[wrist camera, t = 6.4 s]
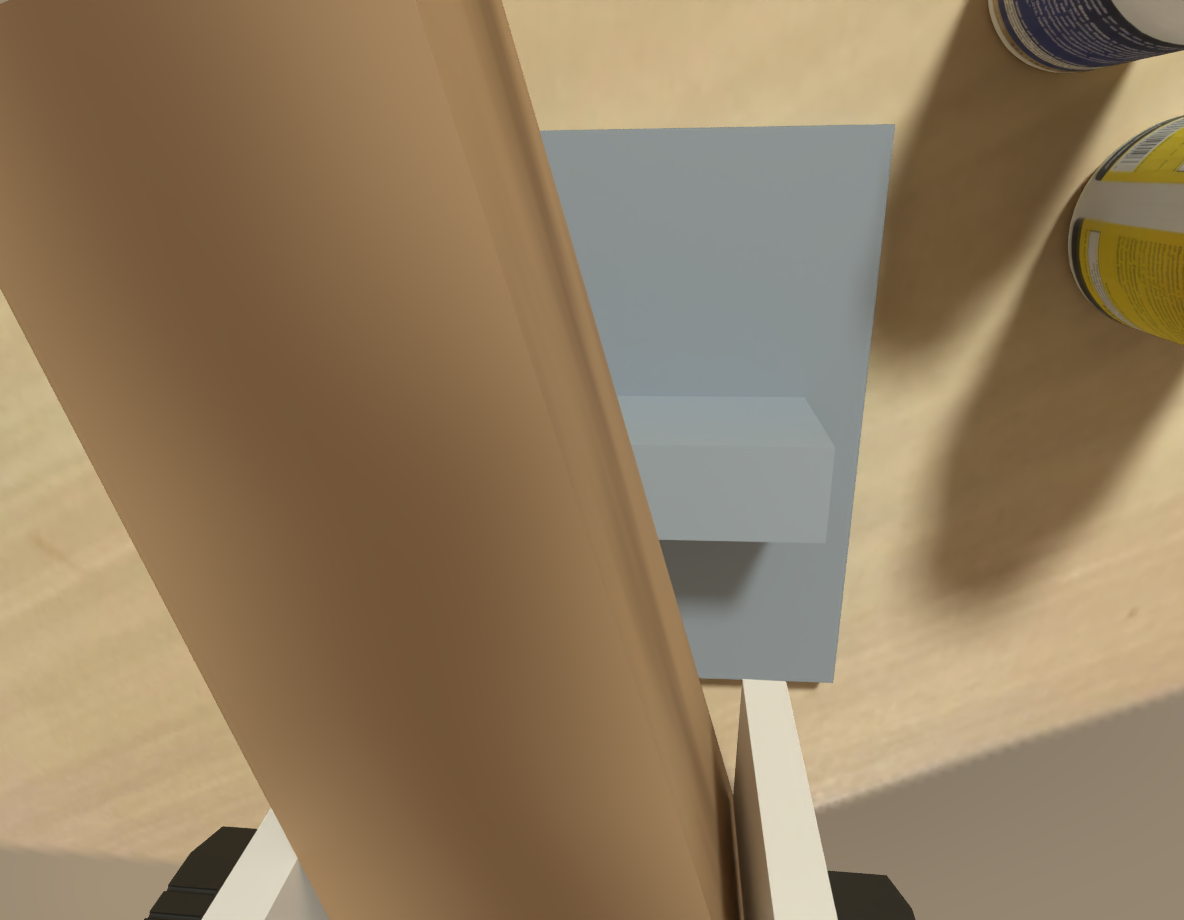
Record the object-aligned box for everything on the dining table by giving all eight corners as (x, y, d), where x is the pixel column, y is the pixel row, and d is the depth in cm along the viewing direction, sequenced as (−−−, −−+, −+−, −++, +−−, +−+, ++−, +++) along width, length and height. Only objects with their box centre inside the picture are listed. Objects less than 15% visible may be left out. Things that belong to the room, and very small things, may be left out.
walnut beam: (619, 1133, 19) (601, 1441, 15) (188, 99, 12) (-122, 54, 7) (826, 1116, 18) (878, 1439, 14) (496, -16, 11) (367, -149, 6)
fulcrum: (482, 656, 33) (446, 758, 27) (443, 133, 26) (384, 126, 20) (828, 667, 32) (864, 776, 26) (886, 125, 25) (953, 115, 19)
